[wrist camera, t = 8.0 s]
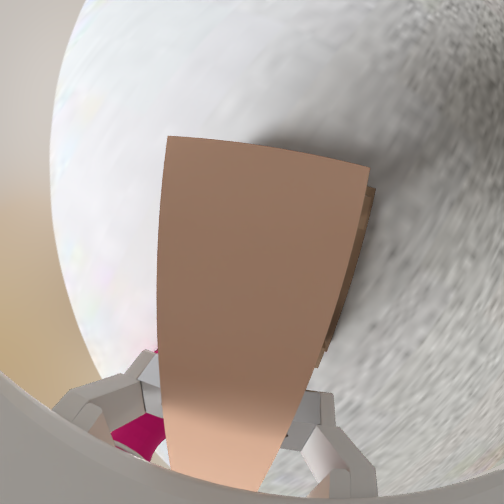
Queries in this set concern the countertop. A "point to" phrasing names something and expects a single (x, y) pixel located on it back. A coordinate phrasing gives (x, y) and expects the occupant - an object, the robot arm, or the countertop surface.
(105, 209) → the countertop surface
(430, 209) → the countertop surface
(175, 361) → the peach rectangular block
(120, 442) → the pepper mill
